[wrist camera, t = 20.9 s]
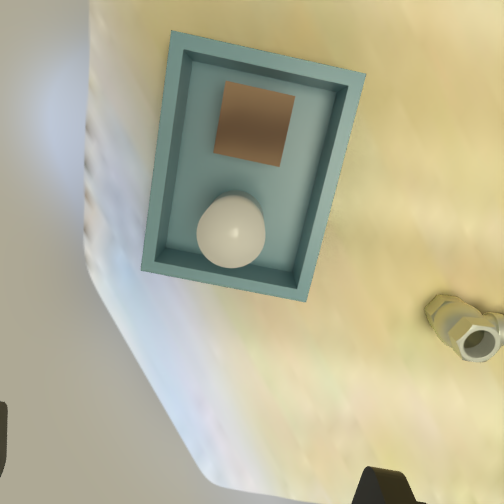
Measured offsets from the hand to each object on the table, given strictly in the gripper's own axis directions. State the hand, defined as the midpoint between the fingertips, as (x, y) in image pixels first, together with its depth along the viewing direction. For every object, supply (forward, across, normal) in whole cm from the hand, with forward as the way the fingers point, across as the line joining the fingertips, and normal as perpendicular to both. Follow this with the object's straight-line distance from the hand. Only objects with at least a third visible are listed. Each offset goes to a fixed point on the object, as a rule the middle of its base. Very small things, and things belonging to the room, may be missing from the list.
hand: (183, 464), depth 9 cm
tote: (+28, 0, -4) cm, 28 cm away
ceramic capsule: (+27, 0, 0) cm, 27 cm away
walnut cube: (+27, 0, -8) cm, 28 cm away
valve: (+28, -26, +5) cm, 39 cm away
